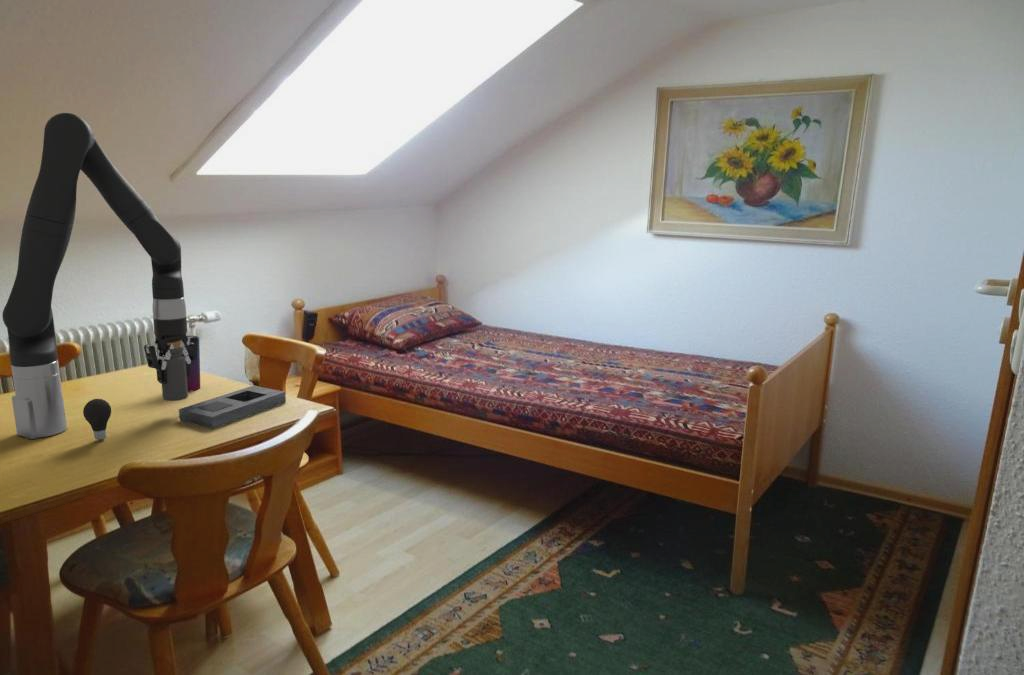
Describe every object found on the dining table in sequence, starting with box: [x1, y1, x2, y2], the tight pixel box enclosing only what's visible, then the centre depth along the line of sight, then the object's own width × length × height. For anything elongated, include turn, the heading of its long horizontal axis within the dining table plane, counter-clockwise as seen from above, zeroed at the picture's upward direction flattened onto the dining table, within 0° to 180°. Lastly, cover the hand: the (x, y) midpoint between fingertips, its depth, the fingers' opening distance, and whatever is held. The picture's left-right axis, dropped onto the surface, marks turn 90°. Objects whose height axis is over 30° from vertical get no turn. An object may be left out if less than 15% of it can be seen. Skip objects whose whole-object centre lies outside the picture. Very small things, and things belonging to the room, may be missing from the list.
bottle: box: [161, 340, 189, 402], centre depth 181 cm, size 6×6×15 cm
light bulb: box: [82, 398, 112, 442], centre depth 165 cm, size 6×6×10 cm
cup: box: [185, 335, 201, 392], centre depth 205 cm, size 7×7×15 cm
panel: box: [178, 385, 287, 430], centre depth 187 cm, size 24×12×3 cm, turn 152°
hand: (174, 380), depth 182 cm, fingers closed on bottle, 5 cm apart
